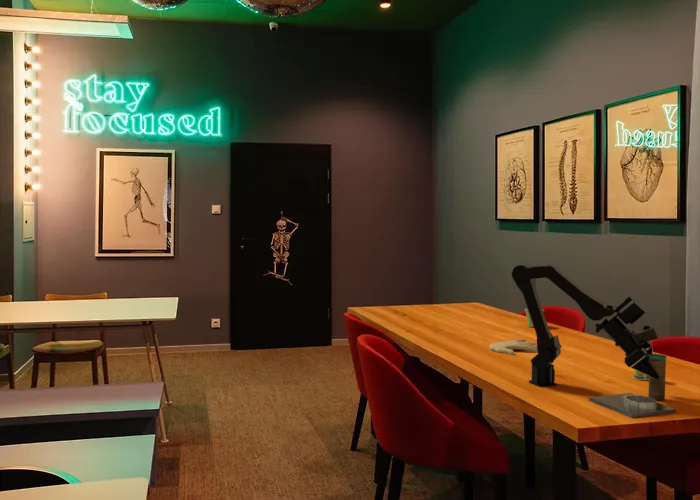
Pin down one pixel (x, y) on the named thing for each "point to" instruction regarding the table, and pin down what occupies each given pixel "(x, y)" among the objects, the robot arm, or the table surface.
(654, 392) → the travel tumbler
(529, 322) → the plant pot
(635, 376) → the supplement bottle
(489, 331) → the table surface
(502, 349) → the hand model
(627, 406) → the hub
